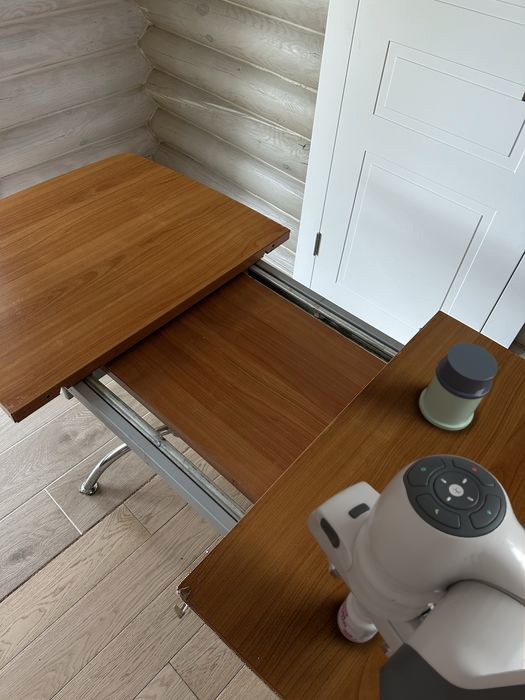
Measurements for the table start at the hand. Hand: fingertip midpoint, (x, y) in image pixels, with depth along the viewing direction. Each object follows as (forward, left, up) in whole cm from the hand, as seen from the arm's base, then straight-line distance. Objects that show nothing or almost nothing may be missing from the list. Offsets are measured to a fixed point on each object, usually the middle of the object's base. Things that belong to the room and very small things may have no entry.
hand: (361, 608), depth 59 cm
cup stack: (+17, -34, -5) cm, 38 cm away
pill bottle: (0, 0, -5) cm, 5 cm away
